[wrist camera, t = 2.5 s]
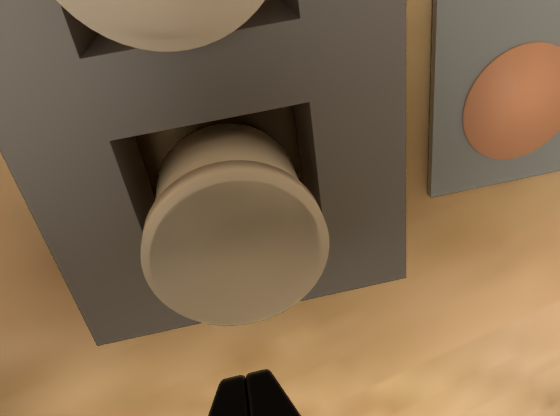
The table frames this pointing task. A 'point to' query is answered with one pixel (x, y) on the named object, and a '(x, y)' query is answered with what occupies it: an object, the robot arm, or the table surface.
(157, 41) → the middle button
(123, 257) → the button panel
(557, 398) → the table surface
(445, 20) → the pattern card
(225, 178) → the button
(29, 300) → the table surface
